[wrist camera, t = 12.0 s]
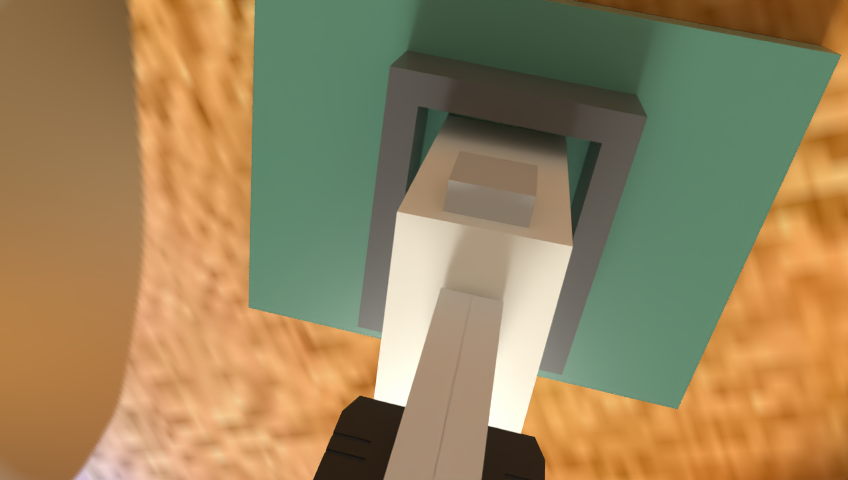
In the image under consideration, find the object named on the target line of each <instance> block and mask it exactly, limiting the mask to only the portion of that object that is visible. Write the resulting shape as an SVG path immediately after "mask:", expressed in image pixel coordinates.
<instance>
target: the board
mask: <svg viewBox="0 0 848 480" xmlns="http://www.w3.org/2000/svg"><path fill="white" fill-rule="evenodd" d="M840 56H841V55H840V54H838V53H836V52H834V51H831V50H829V49H827V48H825V47H823V46H820V45H814V44H809V43H803V42H798V41H792V40H787V39H782V38H776V37H771V36H765V35H760V34H754V33H749V32H743V31H738V30H733V29H727V28H722V27H716V26H711V25H705V24H700V23H694V22H689V21H684V20H678V19H673V18H667V17H662V16H656V15H651V14H645V13H640V12H635V11H629V10H624V9H618V8H613V7H607V6H602V5H596V4H591V3H586V2H580V1H575V0H255V27H254V75H253V123H252V171H251V219H250V266H249V308H253V309H257V310H261V311H266V312H270V313H274V314H278V315H282V316H287V317H291V318H295V319H299V320H304V321H308V322H312V323H316V324H320V325H325V326H329V327H333V328H337V329H342V330H346V331H350V332H354V333H358V334H363V335H367V336H371V337H375V338H380V339H381V338H382V330H383V322H384V314H385V306H386V298H387V289H388V281H389V273H390V265H391V257H392V249H393V241H394V232H395V224H396V216H397V211H398V209H399V207H400V205H401V203H402V201H403V199H404V198H405V196H406V194H407V192H408V190H409V188H410V186H411V184H412V182H413V180H414V178H415V177H416V175H417V173H418V171H419V169H420V167H421V165H422V163H423V161H424V159H425V158H426V156H427V154H428V152H429V150H430V148H431V146H432V144H433V142H434V140H435V138H436V137H437V135H438V133H439V131H440V129H441V127H442V125H443V123H444V121H445V119H446V118H447V116H448V115H451V116H457V117H462V118H468V119H473V120H479V121H484V122H490V123H495V124H501V125H506V126H512V127H517V128H523V129H528V130H534V131H539V132H545V133H550V134H556V135H561V136H566V148H567V163H568V178H569V194H570V209H571V225H572V240H573V248H572V252H571V255H570V259H569V263H568V266H567V270H566V273H565V277H564V280H563V284H562V288H561V291H560V295H559V298H558V302H557V306H556V309H555V313H554V316H553V320H552V323H551V327H550V331H549V334H548V338H547V341H546V345H545V348H544V352H543V356H542V359H541V363H540V366H539V370H538V374H537V376H540V377H544V378H548V379H552V380H557V381H561V382H565V383H569V384H574V385H578V386H582V387H586V388H590V389H595V390H599V391H603V392H607V393H611V394H616V395H620V396H624V397H628V398H633V399H637V400H641V401H645V402H649V403H654V404H658V405H662V406H666V407H671V408H675V409H678V407H679V405H680V403H681V400H682V398H683V396H684V394H685V392H686V390H687V387H688V385H689V383H690V381H691V379H692V377H693V374H694V372H695V370H696V368H697V366H698V364H699V361H700V359H701V357H702V355H703V353H704V351H705V348H706V346H707V344H708V342H709V340H710V338H711V336H712V333H713V331H714V329H715V327H716V325H717V323H718V320H719V318H720V316H721V314H722V312H723V310H724V307H725V305H726V303H727V301H728V299H729V297H730V294H731V292H732V290H733V288H734V286H735V284H736V281H737V279H738V277H739V275H740V273H741V271H742V268H743V266H744V264H745V262H746V260H747V258H748V255H749V253H750V251H751V249H752V247H753V245H754V242H755V240H756V238H757V236H758V234H759V232H760V229H761V227H762V225H763V223H764V221H765V219H766V216H767V214H768V212H769V210H770V208H771V206H772V203H773V201H774V199H775V197H776V195H777V193H778V190H779V188H780V186H781V184H782V182H783V180H784V178H785V175H786V173H787V171H788V169H789V167H790V165H791V162H792V160H793V158H794V156H795V154H796V152H797V149H798V147H799V145H800V143H801V141H802V139H803V136H804V134H805V132H806V130H807V128H808V126H809V123H810V121H811V119H812V117H813V115H814V113H815V110H816V108H817V106H818V104H819V102H820V100H821V97H822V95H823V93H824V91H825V89H826V87H827V84H828V82H829V80H830V78H831V76H832V74H833V71H834V69H835V67H836V65H837V63H838V61H839V58H840Z"/></svg>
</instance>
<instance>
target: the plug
mask: <svg viewBox="0 0 848 480" xmlns="http://www.w3.org/2000/svg"><path fill="white" fill-rule="evenodd" d="M572 248H573V240H572V225H571V209H570V194H569V178H568V163H567V148H566V136H561V135H556V134H550V133H545V132H539V131H534V130H528V129H523V128H517V127H512V126H506V125H501V124H495V123H490V122H484V121H479V120H473V119H468V118H462V117H457V116H451V115H448V116H447V118H446V119H445V121H444V123H443V125H442V127H441V129H440V131H439V133H438V135H437V137H436V138H435V140H434V142H433V144H432V146H431V148H430V150H429V152H428V154H427V156H426V158H425V159H424V161H423V163H422V165H421V167H420V169H419V171H418V173H417V175H416V177H415V178H414V180H413V182H412V184H411V186H410V188H409V190H408V192H407V194H406V196H405V198H404V199H403V201H402V203H401V205H400V207H399V209H398V211H397V216H396V224H395V232H394V241H393V249H392V257H391V265H390V273H389V281H388V289H387V298H386V306H385V314H384V322H383V330H382V338H381V346H380V355H379V363H378V371H377V379H376V387H375V395H374V399H375V400H379V401H383V402H387V403H392V404H396V405H400V406H404V407H405V406H406V403H407V400H408V396H409V393H410V390H411V386H412V383H413V380H414V376H415V373H416V370H417V366H418V363H419V360H420V356H421V353H422V350H423V346H424V343H425V339H426V336H427V333H428V329H429V326H430V323H431V319H432V316H433V313H434V309H435V306H436V303H437V299H438V296H439V293H440V289H441V288H446V289H450V290H454V291H459V292H463V293H468V294H472V295H476V296H481V297H485V298H490V299H494V300H498V301H503V302H504V303H503V311H502V319H501V327H500V335H499V343H498V351H497V359H496V367H495V375H494V383H493V391H492V399H491V407H490V415H489V423H488V426H492V427H496V428H500V429H504V430H508V431H512V432H516V433H520V434H521V431H522V427H523V424H524V420H525V416H526V413H527V409H528V406H529V402H530V399H531V395H532V391H533V388H534V384H535V381H536V377H537V374H538V370H539V366H540V363H541V359H542V356H543V352H544V348H545V345H546V341H547V338H548V334H549V331H550V327H551V323H552V320H553V316H554V313H555V309H556V306H557V302H558V298H559V295H560V291H561V288H562V284H563V280H564V277H565V273H566V270H567V266H568V263H569V259H570V255H571V252H572Z"/></svg>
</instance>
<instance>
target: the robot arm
mask: <svg viewBox="0 0 848 480" xmlns="http://www.w3.org/2000/svg"><path fill="white" fill-rule="evenodd" d="M503 303H504V302H503V301H498V300H494V299H490V298H485V297H481V296H476V295H472V294H468V293H463V292H459V291H454V290H450V289H446V288H441V289H440V293H439V296H438V299H437V303H436V306H435V309H434V313H433V316H432V319H431V323H430V326H429V329H428V333H427V336H426V339H425V343H424V346H423V350H422V353H421V356H420V360H419V363H418V366H417V370H416V373H415V376H414V380H413V383H412V386H411V390H410V393H409V396H408V400H407V403H406V406H405V407H404V406H400V405H396V404H392V403H387V402H383V401H379V400H375V399H371V398H367V397H363V396H359V397H358V398H357V399H356V400H354V401H353V402H352V403H351V404H350V405H349V406H348V407H346V408H345V409H344V410H343V411H342V413H341V415H340V418H339V420H338V422H337V425H336V427H335V430H334V432H333V436H332V437H331V439H330V441H329V444H328V446H327V448H326V452H325V453H324V455H323V458H322V460H321V463H320V465H319V467H318V470H317V472H316V474H315V477H314V479H313V480H545V459H544V457H543V454H542V452H541V450H540V448H539V445H538V443H537V441H536V439H535V437H532V436H528V435H524V434H520V433H516V432H512V431H508V430H504V429H500V428H496V427H492V426H488V423H489V415H490V407H491V399H492V391H493V383H494V375H495V367H496V359H497V351H498V343H499V335H500V327H501V319H502V311H503Z"/></svg>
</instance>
